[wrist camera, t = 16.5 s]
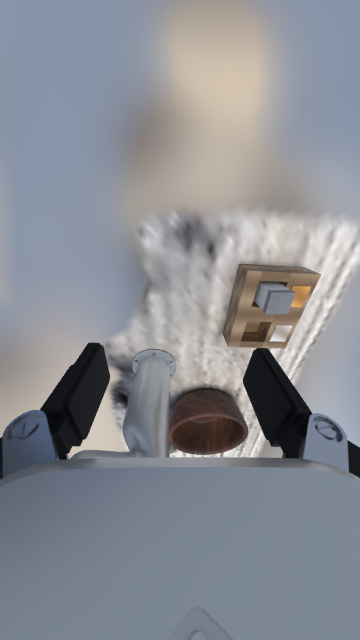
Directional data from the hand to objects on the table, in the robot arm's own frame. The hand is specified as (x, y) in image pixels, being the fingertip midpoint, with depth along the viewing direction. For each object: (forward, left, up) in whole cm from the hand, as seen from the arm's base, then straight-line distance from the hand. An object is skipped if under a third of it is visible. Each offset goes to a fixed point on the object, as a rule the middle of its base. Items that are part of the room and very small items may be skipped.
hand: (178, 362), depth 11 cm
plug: (-4, -19, -27) cm, 33 cm away
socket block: (-9, -20, -28) cm, 36 cm away
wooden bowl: (-50, -12, -29) cm, 59 cm away
